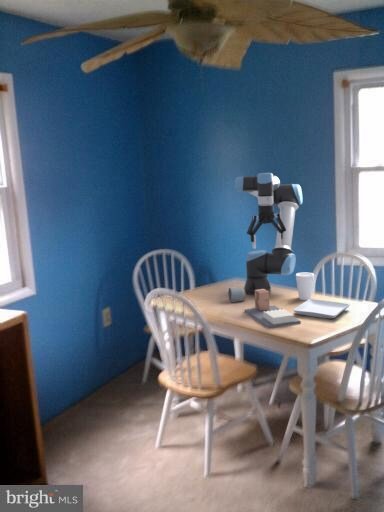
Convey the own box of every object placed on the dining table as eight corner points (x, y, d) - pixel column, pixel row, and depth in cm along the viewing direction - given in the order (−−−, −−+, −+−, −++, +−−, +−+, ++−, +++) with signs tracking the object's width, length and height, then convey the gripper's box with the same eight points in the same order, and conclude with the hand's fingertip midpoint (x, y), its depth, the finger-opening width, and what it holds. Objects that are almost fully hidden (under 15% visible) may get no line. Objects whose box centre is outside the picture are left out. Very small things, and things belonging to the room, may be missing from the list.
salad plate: (335, 322, 241) (335, 315, 240) (292, 316, 253) (291, 309, 252) (350, 310, 258) (350, 303, 257) (309, 305, 270) (309, 298, 269)
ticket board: (244, 311, 263) (244, 303, 262) (274, 307, 267) (274, 299, 266) (268, 328, 236) (267, 318, 235) (300, 323, 241) (300, 314, 240)
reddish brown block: (255, 307, 263) (254, 289, 262) (264, 306, 265) (264, 288, 263) (260, 310, 258) (259, 292, 256) (269, 309, 259) (269, 291, 257)
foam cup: (310, 301, 275) (310, 276, 273) (293, 299, 280) (293, 275, 277) (316, 296, 283) (316, 273, 281) (299, 295, 288) (299, 271, 285)
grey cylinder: (246, 302, 279) (246, 288, 278) (231, 303, 278) (230, 289, 277) (241, 297, 289) (240, 283, 288) (226, 299, 288) (226, 285, 287)
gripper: (245, 207, 255) (246, 250, 259) (292, 203, 261) (293, 245, 266) (239, 205, 262) (240, 248, 266) (285, 202, 269) (286, 243, 273)
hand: (266, 247), depth 266 cm, fingers open, 13 cm apart
